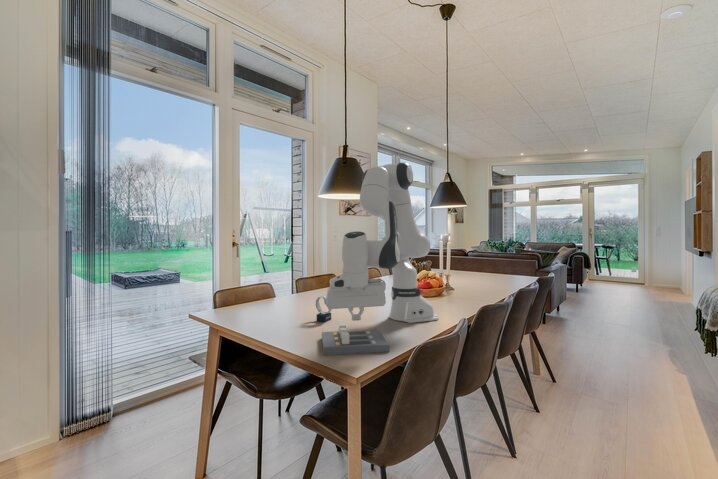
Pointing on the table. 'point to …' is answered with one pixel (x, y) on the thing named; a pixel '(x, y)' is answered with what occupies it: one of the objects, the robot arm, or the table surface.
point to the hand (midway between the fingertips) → (356, 320)
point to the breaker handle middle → (343, 331)
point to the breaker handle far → (341, 326)
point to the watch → (322, 315)
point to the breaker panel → (354, 342)
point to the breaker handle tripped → (345, 338)
